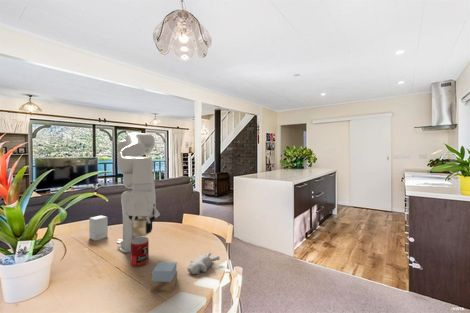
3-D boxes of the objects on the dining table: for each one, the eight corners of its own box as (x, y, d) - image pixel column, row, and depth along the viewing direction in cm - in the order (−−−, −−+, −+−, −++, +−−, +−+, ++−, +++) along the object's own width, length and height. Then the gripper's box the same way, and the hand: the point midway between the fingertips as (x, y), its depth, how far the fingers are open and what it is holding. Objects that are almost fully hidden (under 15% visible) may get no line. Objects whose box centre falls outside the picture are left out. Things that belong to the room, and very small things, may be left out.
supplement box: (108, 237, 139) (108, 216, 139) (95, 241, 133) (95, 219, 133) (101, 234, 143) (101, 214, 143) (88, 238, 137) (89, 217, 137)
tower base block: (150, 293, 84) (150, 282, 84) (157, 281, 92) (157, 271, 92) (172, 292, 84) (172, 282, 84) (177, 280, 92) (177, 271, 92)
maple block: (133, 235, 91) (133, 220, 90) (140, 231, 95) (140, 217, 95) (144, 236, 90) (144, 221, 90) (151, 232, 95) (151, 217, 95)
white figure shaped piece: (182, 262, 99) (206, 247, 111) (183, 273, 100) (207, 257, 112) (197, 269, 93) (221, 252, 105) (198, 281, 94) (222, 263, 106)
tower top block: (152, 281, 85) (152, 271, 85) (159, 271, 92) (159, 262, 92) (170, 282, 84) (171, 271, 84) (176, 272, 91) (176, 262, 91)
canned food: (137, 268, 101) (137, 244, 101) (127, 263, 106) (127, 240, 106) (152, 261, 108) (152, 238, 108) (141, 257, 112) (141, 235, 112)
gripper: (117, 188, 90) (117, 234, 90) (157, 189, 88) (157, 236, 88) (128, 185, 98) (128, 228, 98) (166, 186, 95) (166, 230, 95)
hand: (142, 231), depth 93 cm, fingers closed on maple block, 5 cm apart
